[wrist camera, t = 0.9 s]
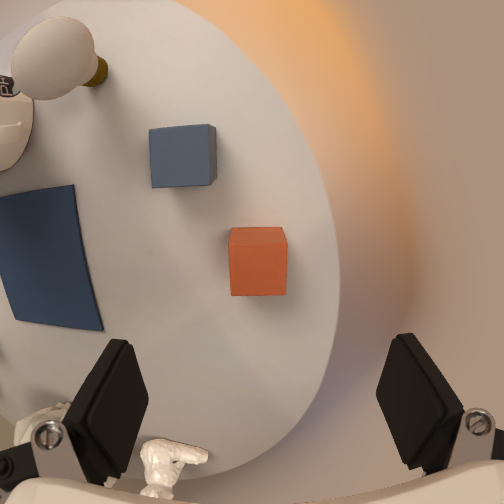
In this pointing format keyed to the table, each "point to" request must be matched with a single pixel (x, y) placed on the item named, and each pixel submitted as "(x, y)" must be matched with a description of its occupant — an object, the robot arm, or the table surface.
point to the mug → (13, 122)
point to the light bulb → (56, 59)
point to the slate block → (183, 156)
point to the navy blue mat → (46, 260)
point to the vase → (50, 413)
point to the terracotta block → (257, 261)
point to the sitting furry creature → (167, 465)
